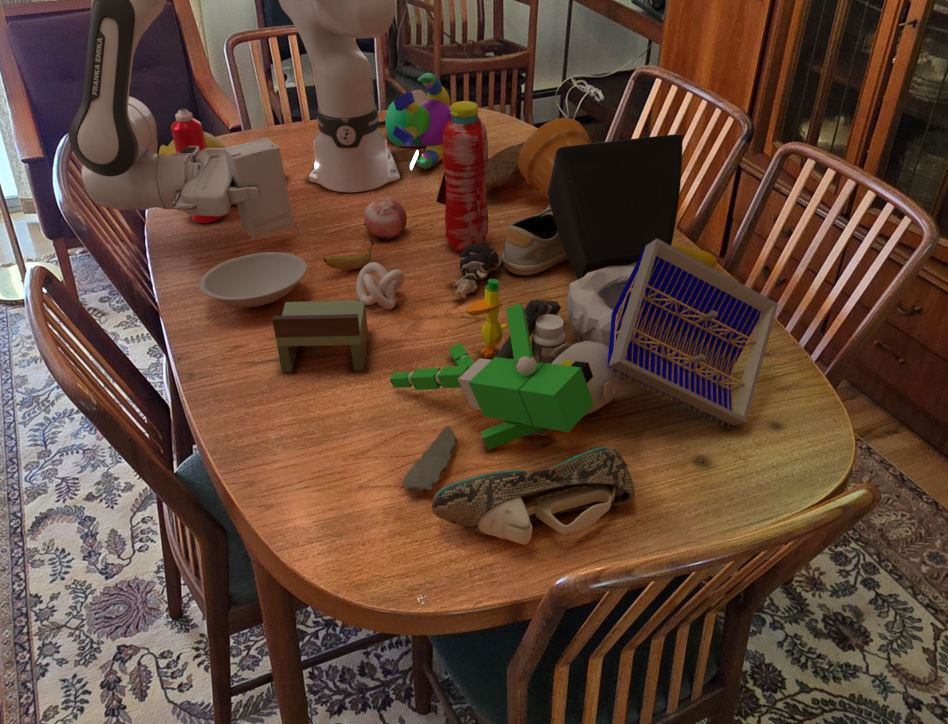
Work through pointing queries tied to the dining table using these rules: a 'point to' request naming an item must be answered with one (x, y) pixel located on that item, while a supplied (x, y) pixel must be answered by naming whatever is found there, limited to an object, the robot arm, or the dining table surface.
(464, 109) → the water bottle
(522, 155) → the flower pot
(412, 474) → the stone
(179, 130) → the bottle
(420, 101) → the ice cream cone
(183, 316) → the dining table surface
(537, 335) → the pill bottle
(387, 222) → the onion
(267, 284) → the dish
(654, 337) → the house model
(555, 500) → the ballet flat
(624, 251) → the flower pot
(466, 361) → the toy
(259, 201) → the cosmetic box
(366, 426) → the dining table surface
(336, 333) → the shelf
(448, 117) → the figurine
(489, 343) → the toy figure
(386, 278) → the knot
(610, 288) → the bowl
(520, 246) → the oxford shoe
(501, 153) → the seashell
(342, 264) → the banana
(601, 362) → the toy
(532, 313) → the handgun
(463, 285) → the figurine
